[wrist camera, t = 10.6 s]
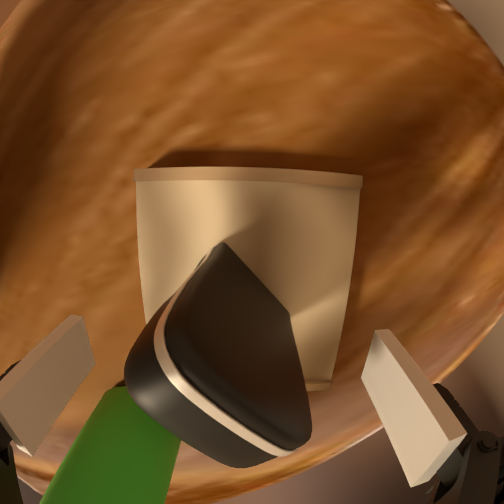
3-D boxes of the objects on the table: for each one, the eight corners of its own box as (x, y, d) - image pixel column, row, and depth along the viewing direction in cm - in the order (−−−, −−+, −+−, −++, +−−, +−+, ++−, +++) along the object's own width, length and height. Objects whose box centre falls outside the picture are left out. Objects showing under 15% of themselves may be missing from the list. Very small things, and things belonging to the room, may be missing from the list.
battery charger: (178, 273, 18) (89, 389, 7) (221, 235, 17) (159, 332, 6) (250, 345, 19) (241, 489, 8) (293, 314, 18) (324, 458, 7)
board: (160, 367, 22) (154, 381, 20) (145, 169, 18) (133, 169, 16) (325, 375, 21) (330, 390, 20) (353, 175, 17) (363, 175, 16)
